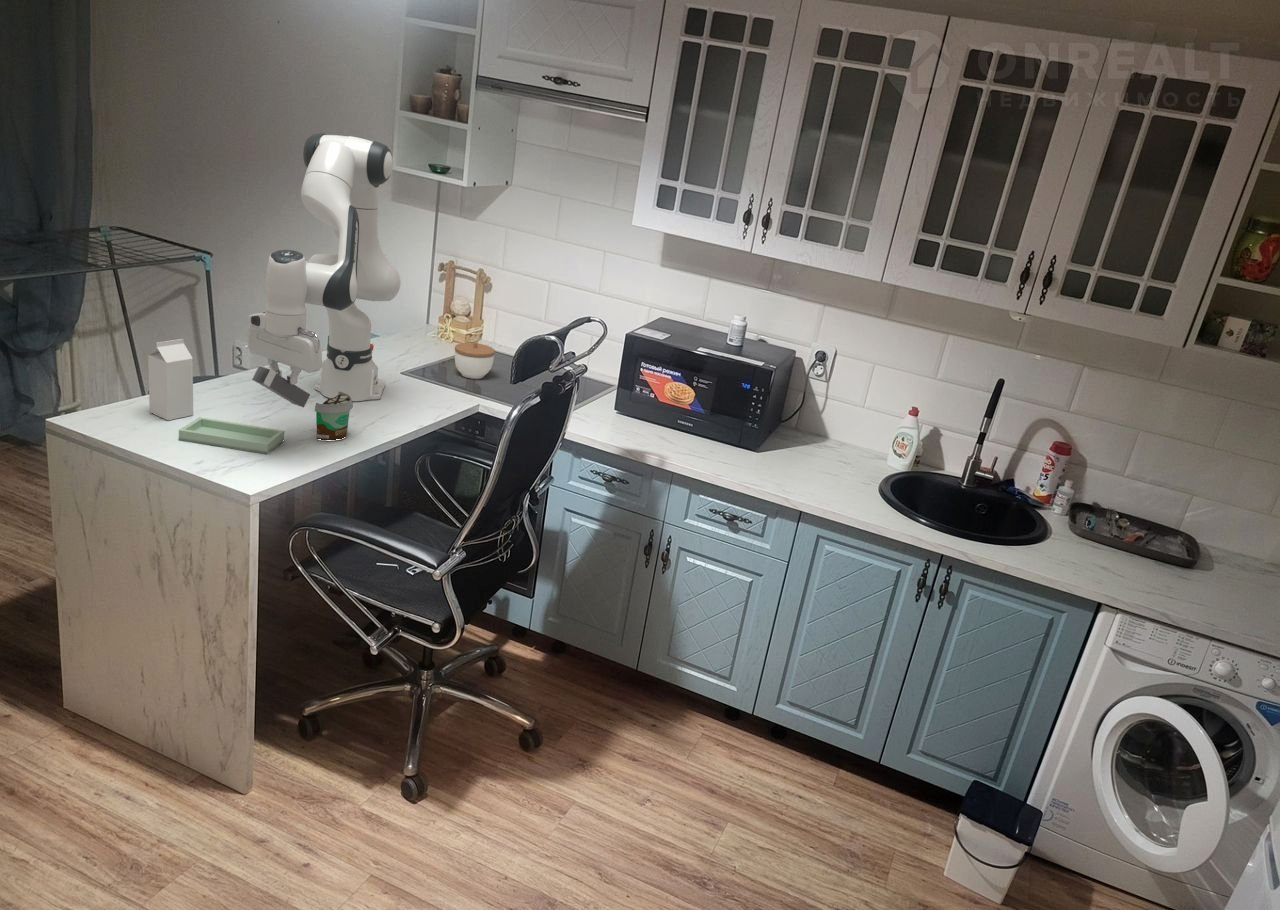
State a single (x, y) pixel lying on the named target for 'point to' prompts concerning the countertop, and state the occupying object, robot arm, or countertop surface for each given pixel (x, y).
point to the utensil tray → (231, 435)
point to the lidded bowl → (473, 359)
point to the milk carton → (171, 380)
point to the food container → (333, 417)
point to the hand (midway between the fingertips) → (284, 380)
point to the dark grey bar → (280, 386)
